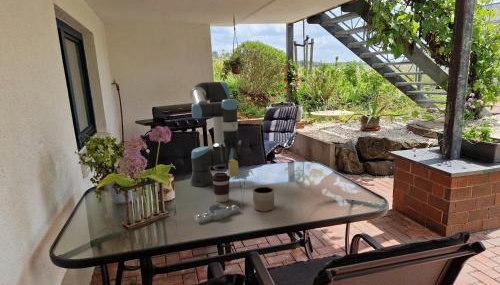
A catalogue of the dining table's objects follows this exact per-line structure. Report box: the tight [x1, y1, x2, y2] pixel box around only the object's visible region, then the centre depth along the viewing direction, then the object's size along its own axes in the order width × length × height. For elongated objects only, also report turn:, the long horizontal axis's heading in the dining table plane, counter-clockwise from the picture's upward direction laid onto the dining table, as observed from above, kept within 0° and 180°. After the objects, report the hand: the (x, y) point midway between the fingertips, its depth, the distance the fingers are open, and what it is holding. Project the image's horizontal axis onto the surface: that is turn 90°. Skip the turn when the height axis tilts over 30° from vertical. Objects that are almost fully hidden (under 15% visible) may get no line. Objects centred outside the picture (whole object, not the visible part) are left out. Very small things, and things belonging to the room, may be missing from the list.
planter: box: [252, 186, 275, 212], centre depth 162 cm, size 11×11×10 cm
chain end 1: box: [193, 204, 223, 225], centre depth 151 cm, size 8×11×4 cm
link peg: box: [229, 158, 239, 178], centre depth 164 cm, size 4×4×8 cm
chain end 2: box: [214, 203, 240, 219], centre depth 157 cm, size 8×11×4 cm
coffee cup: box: [212, 171, 231, 203], centre depth 174 cm, size 10×10×15 cm
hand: (232, 174), depth 165 cm, fingers closed on link peg, 4 cm apart
